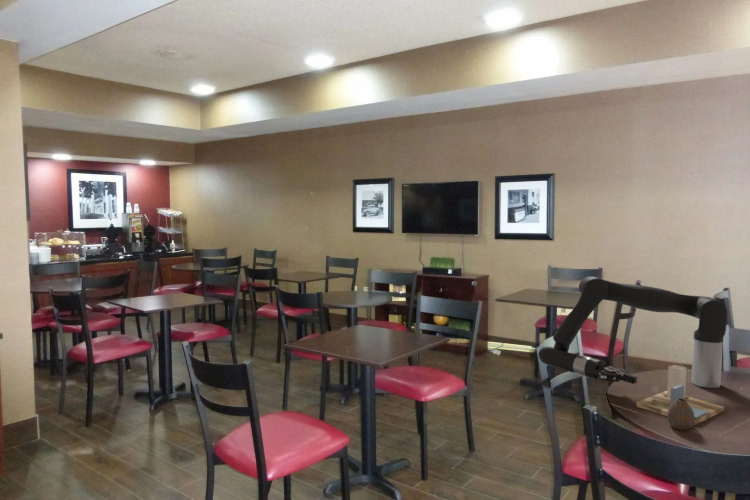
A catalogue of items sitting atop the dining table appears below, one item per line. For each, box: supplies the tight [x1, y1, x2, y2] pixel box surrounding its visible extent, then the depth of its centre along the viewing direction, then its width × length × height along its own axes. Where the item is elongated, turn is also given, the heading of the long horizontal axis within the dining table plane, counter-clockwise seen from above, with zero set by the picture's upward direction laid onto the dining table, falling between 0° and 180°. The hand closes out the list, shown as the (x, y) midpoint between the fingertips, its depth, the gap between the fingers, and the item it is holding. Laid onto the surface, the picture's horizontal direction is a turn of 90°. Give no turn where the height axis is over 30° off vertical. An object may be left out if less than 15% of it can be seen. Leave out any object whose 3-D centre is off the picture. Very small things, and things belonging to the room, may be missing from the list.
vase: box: [667, 398, 695, 431], centre depth 154 cm, size 7×7×9 cm
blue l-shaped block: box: [670, 384, 708, 419], centre depth 161 cm, size 8×8×7 cm
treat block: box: [666, 364, 687, 399], centre depth 175 cm, size 4×4×12 cm
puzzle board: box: [636, 390, 725, 426], centre depth 169 cm, size 20×18×2 cm
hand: (635, 380), depth 175 cm, fingers closed
